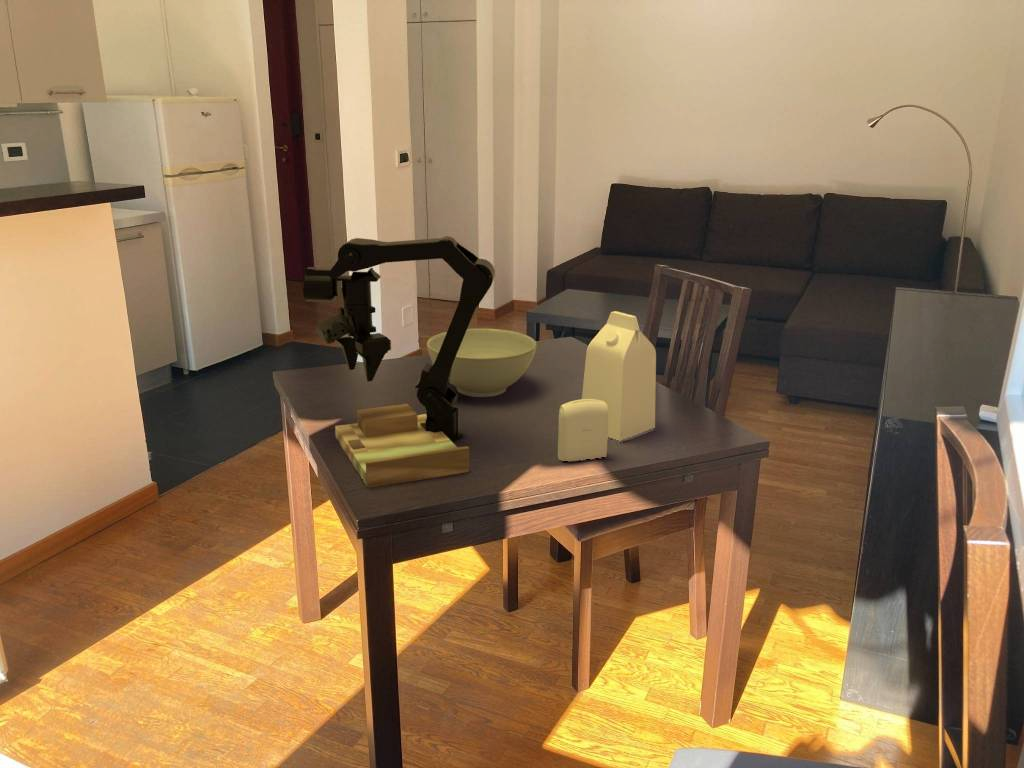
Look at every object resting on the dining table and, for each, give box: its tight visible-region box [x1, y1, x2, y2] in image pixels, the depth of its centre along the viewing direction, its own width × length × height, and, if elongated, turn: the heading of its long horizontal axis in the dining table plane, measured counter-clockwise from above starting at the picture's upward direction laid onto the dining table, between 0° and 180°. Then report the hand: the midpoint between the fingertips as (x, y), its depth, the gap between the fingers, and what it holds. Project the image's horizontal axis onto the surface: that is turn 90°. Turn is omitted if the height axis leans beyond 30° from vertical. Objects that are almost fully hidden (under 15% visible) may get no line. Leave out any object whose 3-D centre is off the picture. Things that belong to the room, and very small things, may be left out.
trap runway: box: [334, 413, 470, 489], centre depth 174 cm, size 27×20×5 cm
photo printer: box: [557, 398, 609, 462], centre depth 172 cm, size 10×4×12 cm, turn 104°
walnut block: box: [356, 403, 418, 437], centre depth 180 cm, size 7×11×4 cm, turn 114°
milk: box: [581, 310, 657, 441], centre depth 185 cm, size 12×12×26 cm
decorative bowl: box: [426, 328, 538, 398], centre depth 212 cm, size 27×27×12 cm
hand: (360, 375), depth 180 cm, fingers open, 9 cm apart
